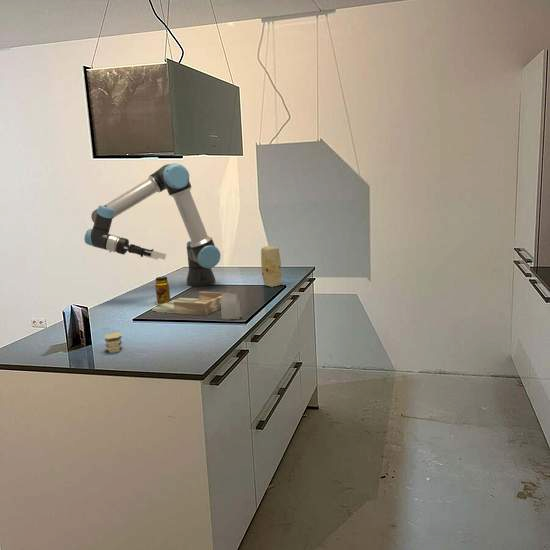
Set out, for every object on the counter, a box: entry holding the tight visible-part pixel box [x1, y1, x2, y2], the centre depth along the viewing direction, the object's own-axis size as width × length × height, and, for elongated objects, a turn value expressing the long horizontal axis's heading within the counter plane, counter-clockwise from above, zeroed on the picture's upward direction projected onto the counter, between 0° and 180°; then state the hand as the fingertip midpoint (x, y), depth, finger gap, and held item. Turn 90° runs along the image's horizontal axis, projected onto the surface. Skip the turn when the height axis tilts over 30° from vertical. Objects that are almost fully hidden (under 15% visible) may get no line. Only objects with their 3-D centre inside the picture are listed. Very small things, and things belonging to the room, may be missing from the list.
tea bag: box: [220, 293, 242, 320], centre depth 238 cm, size 4×7×10 cm, turn 69°
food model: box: [260, 245, 283, 288], centre depth 294 cm, size 10×7×20 cm
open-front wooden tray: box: [151, 291, 231, 316], centre depth 261 cm, size 20×28×5 cm
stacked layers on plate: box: [103, 331, 123, 354], centre depth 207 cm, size 10×9×6 cm
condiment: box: [154, 275, 173, 306], centre depth 275 cm, size 7×8×12 cm
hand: (161, 256), depth 275 cm, fingers open, 13 cm apart
